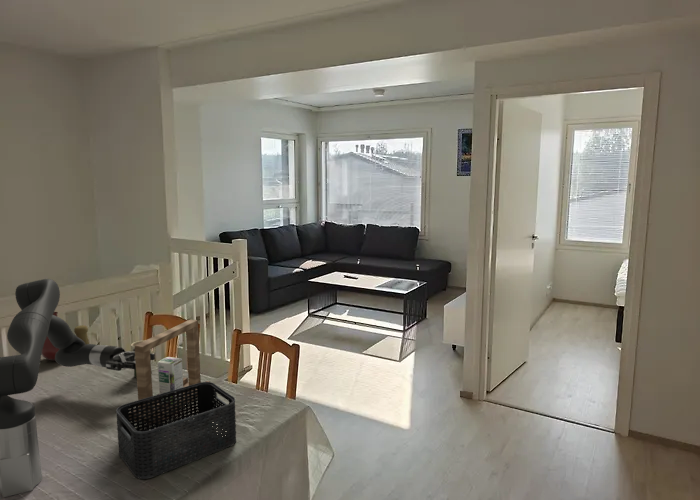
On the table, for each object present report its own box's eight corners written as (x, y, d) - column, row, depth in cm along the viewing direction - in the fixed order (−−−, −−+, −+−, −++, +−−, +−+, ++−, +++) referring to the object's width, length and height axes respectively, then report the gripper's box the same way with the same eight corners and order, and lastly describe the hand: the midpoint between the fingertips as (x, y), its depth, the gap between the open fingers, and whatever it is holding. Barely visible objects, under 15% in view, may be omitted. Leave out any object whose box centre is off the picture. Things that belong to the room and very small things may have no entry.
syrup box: (159, 403, 162) (156, 362, 160) (170, 395, 168) (167, 355, 166) (173, 405, 161) (171, 364, 158) (184, 397, 166) (182, 357, 164)
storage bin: (210, 418, 155) (209, 378, 153) (241, 443, 141) (239, 399, 138) (115, 452, 136) (111, 407, 134) (139, 485, 122) (135, 435, 120)
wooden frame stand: (158, 425, 150) (153, 348, 146) (129, 420, 153) (123, 344, 149) (210, 387, 176) (207, 321, 172) (184, 383, 179) (181, 318, 175)
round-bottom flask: (74, 362, 199) (70, 315, 196) (37, 367, 193) (31, 319, 190) (77, 351, 211) (73, 307, 207) (41, 356, 205) (36, 310, 202)
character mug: (132, 383, 179) (129, 349, 177) (124, 377, 185) (122, 344, 182) (161, 374, 187) (159, 342, 185) (153, 369, 192) (151, 337, 190)
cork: (83, 353, 209) (81, 328, 207) (71, 352, 210) (69, 327, 208) (93, 348, 214) (91, 324, 213) (82, 347, 216) (79, 323, 214)
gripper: (90, 352, 163) (129, 358, 158) (121, 339, 176) (159, 344, 171) (91, 374, 164) (131, 380, 159) (123, 359, 177) (160, 364, 172)
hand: (145, 361), depth 165 cm, fingers open, 8 cm apart
